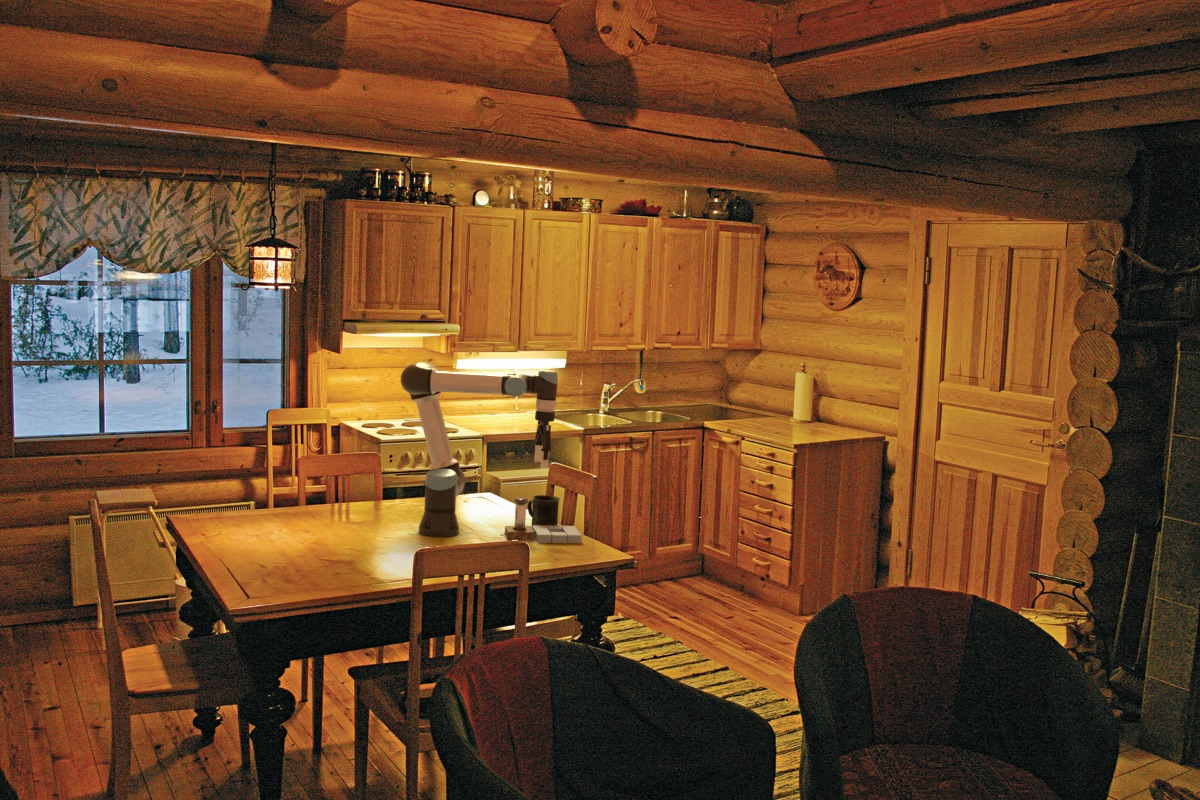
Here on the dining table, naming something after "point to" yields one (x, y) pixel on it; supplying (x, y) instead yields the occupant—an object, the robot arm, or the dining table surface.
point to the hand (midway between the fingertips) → (540, 465)
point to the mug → (544, 510)
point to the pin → (520, 513)
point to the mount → (519, 533)
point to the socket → (556, 534)
